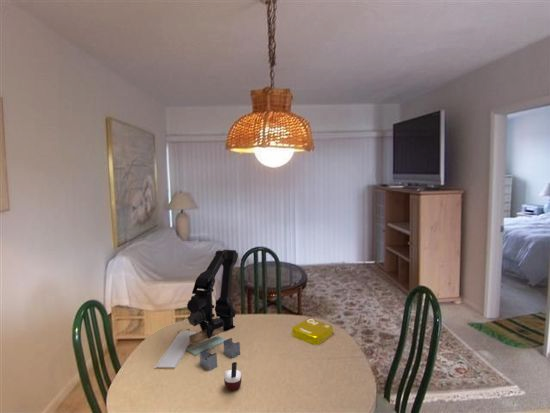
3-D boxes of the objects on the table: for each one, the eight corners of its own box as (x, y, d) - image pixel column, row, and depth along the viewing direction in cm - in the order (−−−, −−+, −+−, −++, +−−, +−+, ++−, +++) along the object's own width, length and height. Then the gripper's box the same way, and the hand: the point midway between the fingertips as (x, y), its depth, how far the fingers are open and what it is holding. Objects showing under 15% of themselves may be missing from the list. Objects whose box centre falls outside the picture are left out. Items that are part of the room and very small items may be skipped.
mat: (218, 336, 161) (218, 335, 161) (227, 341, 156) (227, 340, 156) (186, 350, 149) (186, 349, 149) (195, 356, 144) (195, 354, 144)
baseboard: (150, 370, 136) (174, 370, 135) (150, 363, 135) (174, 364, 135) (176, 334, 166) (196, 334, 165) (176, 328, 165) (196, 329, 165)
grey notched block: (208, 361, 140) (208, 348, 140) (217, 366, 136) (216, 353, 135) (200, 365, 137) (199, 352, 137) (208, 371, 133) (208, 357, 133)
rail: (219, 329, 159) (219, 323, 159) (223, 331, 157) (223, 325, 157) (189, 342, 148) (189, 335, 147) (193, 344, 146) (193, 338, 145)
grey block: (231, 350, 149) (230, 337, 148) (240, 354, 145) (239, 342, 144) (224, 353, 146) (223, 341, 145) (232, 358, 142) (232, 346, 141)
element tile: (290, 336, 161) (290, 327, 160) (308, 325, 172) (308, 316, 171) (316, 347, 151) (316, 336, 150) (334, 334, 162) (334, 325, 161)
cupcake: (227, 380, 127) (225, 349, 127) (244, 380, 127) (242, 349, 126) (221, 396, 118) (219, 363, 117) (239, 396, 117) (237, 362, 117)
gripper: (178, 303, 152) (180, 336, 153) (202, 315, 139) (203, 351, 140) (199, 296, 160) (201, 328, 161) (224, 307, 147) (225, 341, 148)
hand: (207, 337), depth 152 cm, fingers closed on rail, 3 cm apart
